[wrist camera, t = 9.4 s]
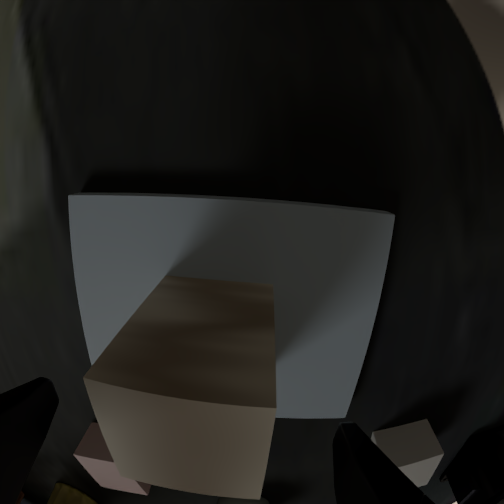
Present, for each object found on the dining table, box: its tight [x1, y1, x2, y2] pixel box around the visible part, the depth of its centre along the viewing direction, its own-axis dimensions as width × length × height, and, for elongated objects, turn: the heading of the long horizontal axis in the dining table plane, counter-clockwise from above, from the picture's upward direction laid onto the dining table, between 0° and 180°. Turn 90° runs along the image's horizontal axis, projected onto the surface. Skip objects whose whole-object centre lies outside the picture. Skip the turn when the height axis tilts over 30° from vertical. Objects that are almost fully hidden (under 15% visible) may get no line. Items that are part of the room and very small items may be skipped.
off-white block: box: [371, 419, 444, 487], centre depth 15 cm, size 4×4×4 cm
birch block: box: [83, 275, 277, 500], centre depth 10 cm, size 4×4×7 cm
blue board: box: [68, 193, 395, 418], centre depth 14 cm, size 14×11×1 cm
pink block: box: [73, 422, 151, 495], centre depth 16 cm, size 4×4×4 cm
